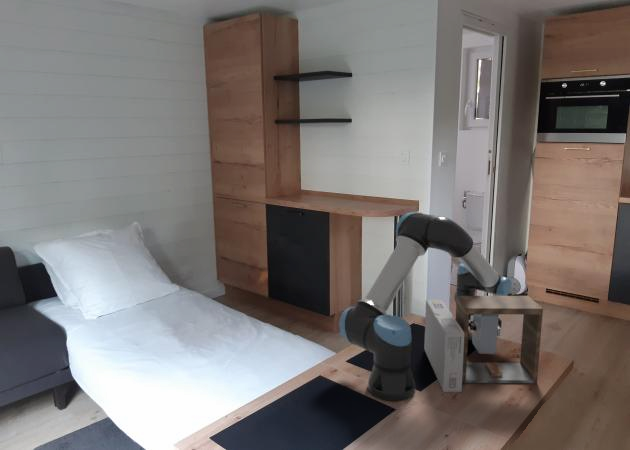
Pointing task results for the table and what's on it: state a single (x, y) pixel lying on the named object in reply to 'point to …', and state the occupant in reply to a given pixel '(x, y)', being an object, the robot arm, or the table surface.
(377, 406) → the table surface
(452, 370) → the packaging
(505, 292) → the robot arm
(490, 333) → the tall grey lidded box
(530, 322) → the walnut shelf
